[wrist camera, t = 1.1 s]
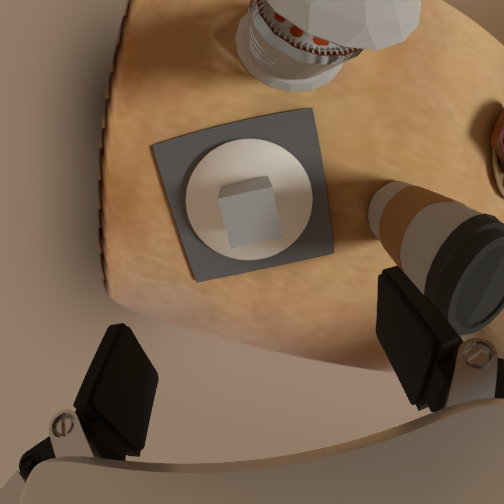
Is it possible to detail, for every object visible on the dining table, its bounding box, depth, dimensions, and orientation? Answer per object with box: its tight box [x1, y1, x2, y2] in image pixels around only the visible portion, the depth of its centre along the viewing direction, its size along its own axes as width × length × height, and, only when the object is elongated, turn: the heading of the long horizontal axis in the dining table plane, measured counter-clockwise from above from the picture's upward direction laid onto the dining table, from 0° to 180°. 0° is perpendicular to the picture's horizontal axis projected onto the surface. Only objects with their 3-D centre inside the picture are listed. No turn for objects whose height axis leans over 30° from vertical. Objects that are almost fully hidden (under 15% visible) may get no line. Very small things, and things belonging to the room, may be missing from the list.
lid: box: [186, 138, 313, 260], centre depth 23 cm, size 11×11×5 cm
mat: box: [152, 108, 334, 282], centre depth 26 cm, size 14×14×1 cm
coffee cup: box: [368, 181, 504, 335], centre depth 20 cm, size 8×8×15 cm
